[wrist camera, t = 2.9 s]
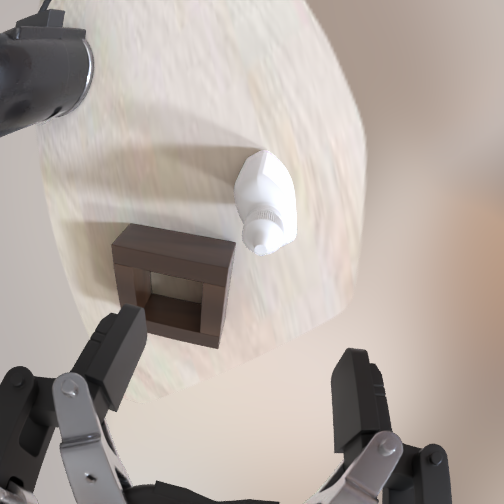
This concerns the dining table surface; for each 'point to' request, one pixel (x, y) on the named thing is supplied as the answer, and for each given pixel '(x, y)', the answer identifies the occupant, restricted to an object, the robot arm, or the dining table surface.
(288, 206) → the eye dropper bottle
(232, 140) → the dining table surface
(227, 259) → the holder
